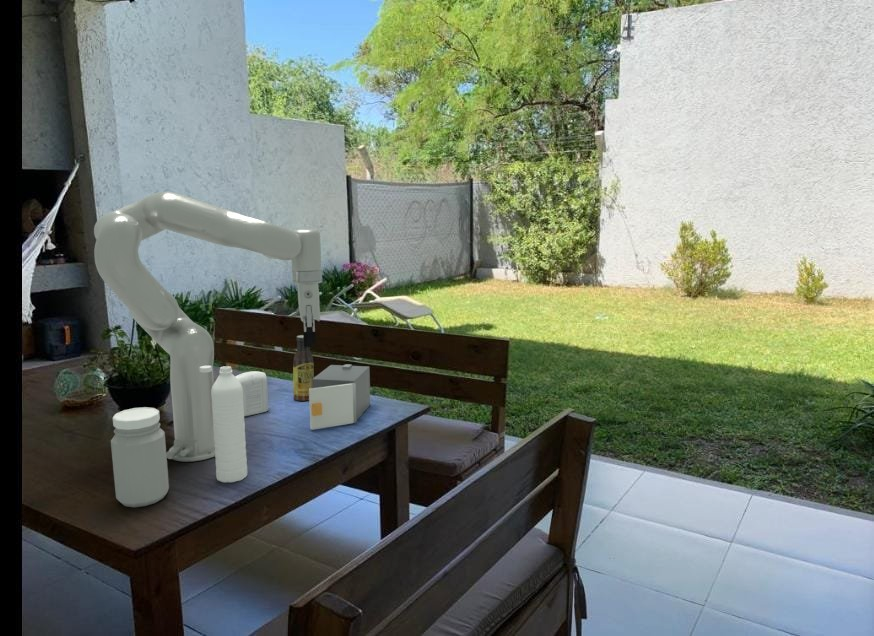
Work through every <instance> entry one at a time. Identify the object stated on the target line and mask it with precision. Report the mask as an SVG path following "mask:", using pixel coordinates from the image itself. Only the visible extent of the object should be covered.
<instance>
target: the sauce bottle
mask: <svg viewBox="0 0 874 636" xmlns="http://www.w3.org/2000/svg"><path fill="white" fill-rule="evenodd" d="M296 342H297V343H296V344H297V345H296V352H295V354H294V357H293V366H292V368H293V369H292V373H293V374H292V377H293V378H292V383H293V385H292V387H293V388H292V389H293V390H292V391H293V399H294V400H295V401H300V402H302V401H303V402H304V401H309V389H311V388H312V379H313V378H314V377H315V376H314V374H315V373H314V368H315V367H314V358H313V354H312V353H311V350H310V349H311V347H304V339H303V334H300V335H297V336H296Z"/></svg>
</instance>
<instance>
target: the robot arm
mask: <svg viewBox="0 0 874 636" xmlns="http://www.w3.org/2000/svg"><path fill="white" fill-rule="evenodd" d="M94 224H95V225H94V226H93V227H94V228H93V235H94V238H95V245H94V249H93V251H94V253H93V254H94V263H95V266H96V270H97V272H98V274H99V276H100V278H101V279H102V281H103V282H104V283H105V285H107V287H108V288H109V289H110V291H111V292H112V293H114V295H115V296H117V298H118V299H119V300H120V301H121V303H122V304H124V305H125V307H126V308H127V310H128V312H129V314H130V316H131V317H132V318H133V320H134V321H135V322H136V323H137V324H138V325H139V326H140V327H141V328H142V329H143V330H144V332H146V333H147V334H148V335H149V336H150V337H151V338H152V340H154V342H155V343H157V344H158V345H159V346H160V347H161V348H162V349H163V350H164V351H165V352H166V353H167V354H168V355H169V357H170V358H169V359H170V361H169V362H170V366H169V367H170V368H169V371H170V373H169V379H170V380H169V381H170V394H171V404H172V418H173V431H174V440H173V445H172V446H171V447H170V448H169V450H168V451H166V456H167V459H168V460H173V461H177V462H186V463H189V462H197V461H198V462H199V461H203V460H208V459H211V458H214V457H215V446H214V444H215V442H214V431H213V411H212V409H213V408H212V398H211V389H212V386H213V384H214V383H215V380H214V361H215V360H214V359H215V358H214V357H215V346H214V341H213V338H212V336H211V334H210V332H209V331H207V329H206V328H204V327H203V326H202V325H200V324H197V323H195V322H194V321H193V320H192V319H191V318H190V317H189V316H188V315H187V313H185V312H184V311H183V310H182V309H181V307H180V306H179V302H178V301H177V299H176V298H175V297H174V295H173V294H172V293H171V292H169V291H168V290H167V289H166V288H165V287H164V286H163V285H161V283H160V281H159V280H157V279H156V278H155V277H154V276H153V274H152V273H151V272H150V271H149V269H148V268H147V267H146V266H145V265H144V264H143V262H142V260H141V259H140V256H139V248H140V245H141V242H143V241H144V240H146V239H149V238H150V237H153V236H155V235H157V234H159V233H160V232H163V231H164V230H167V231H170V232H174V233H178V234H181V235H184V236H188V237H192V238H194V239H199V240H201V241H204V242H208V243H211V244H215V245H219V246H223V247H229V248H237V249H242V250H246V251H251V252H255V253H259V254H262V255H263V256H265V257H267V258H269V259H275V260H280V261H287V262H288V261H291V274H292V277H291V278H292V284H293V285H294V284H295V285H296V286H297V301H298V303H297V304H298V310H299V311H298V312H299V314H300V315H299V316H300V317H299V318H300V321H301V322H302V323H303V331H302V335H303V339H304V347H309V348H311V347H316V346H317V332H316V328H315V327H316V326H315V321H317V322H320V321H321V311H320V290H319V284H320V283H323V275H322V272H323V271H322V252H321V251H322V250H321V249H322V248H321V245H322V244H321V233H320V232H319V230H318V229H314V228H297V229H293V230H291V229H289V228H285V227H283V226H279V225H276V224H274V223H271V222H268V221H264V220H260V219H257V218H254V217H252V216H251V217H250V216H247V215H244V214H242V213H239V212H235V211H233V210H229V209H226V208H224V207H223V208H222V207H220V206H217V205H214V204H210V203H207V202H204V201H202V200H198V199H196V198H192V197H190V196H186V195H183V194H180V193H177V192H173V191H172V192H171V191H161V192H155V193H153V194H150V195H148V196H146V197H144V198H142V199H140V200H137V201H135V202H132V203H130V204H127V205H125V206H123V207H121V208H120V207H119V208H118V209H115V210H113V211H111V212H108V213H106V214H104V215H102V216H101V217H99V218H98V220H96V222H95V223H94ZM201 366H212V371H211V372H200V367H201ZM209 371H210V370H209Z"/></svg>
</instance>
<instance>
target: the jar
mask: <svg viewBox="0 0 874 636" xmlns="http://www.w3.org/2000/svg"><path fill="white" fill-rule="evenodd" d="M160 416H161V415H160V410H159V409H156V408H155V407H147V406H143V407H133V408H129V409H123V410H122V411H118V412H117V413H114V415H113V417H112V424H113V425H112V426H113V427H114V428H115V429H114V430H113V433H114V435H113V437H112V439H110V448H111V458H112V459H111V461H112V472H113V480H114V490H115V498H116V500H117V501H118V502H120V503H121V504H122V506H124V507H129V508H141V507H146V506H149V505H152V504H156V503H157V502H159V501H161V500H162V499H164V498H165V497H166V495H167V493H168V491H169V488H170V484H169V483H170V482H169V470H168V460H167V459H168V458H167V456H166V452H167V445H166V443H167V442H166V432H165V431H164V430H163V429H162V428H161V427H160V426H161V423H160Z"/></svg>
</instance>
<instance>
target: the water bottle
mask: <svg viewBox="0 0 874 636" xmlns="http://www.w3.org/2000/svg"><path fill="white" fill-rule="evenodd" d="M209 370H210V371H209ZM211 371H212V366H201V367H200V372H211ZM218 373H219V374H218V376H217V378H216V379H215V380H214V384H213V386H212V389H211V398H212V408H213V409H212V411H213V431H214V442H215V444H214V446H215V456H214V457H215V467H216V468H215V476H216V480H217V481H218V482H221V483H226V484H227V483H229V484H230V483H236V482H240V481H242V480H244V479H245V478H246V477H247V476H248V464H247V463H248V462H247V461H248V460H247V459H248V458H247V448H246V446H247V442H246V431H245V430H246V426H245V425H246V424H245V423H246V422H245V416H244V406H243V388H242V385H241V383H240V382H239V381H238V380H237V378H236V377H235V376H236V375H234V374H233V369H232V366H229V365H226V366H224V365H223V366H221V367H220V368H219V372H218Z"/></svg>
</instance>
